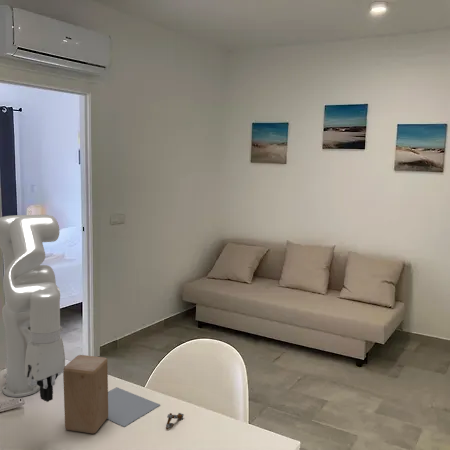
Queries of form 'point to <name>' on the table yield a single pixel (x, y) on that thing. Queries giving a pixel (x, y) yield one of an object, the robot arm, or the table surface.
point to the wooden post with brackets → (170, 416)
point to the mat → (127, 406)
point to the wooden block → (85, 393)
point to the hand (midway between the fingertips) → (46, 399)
